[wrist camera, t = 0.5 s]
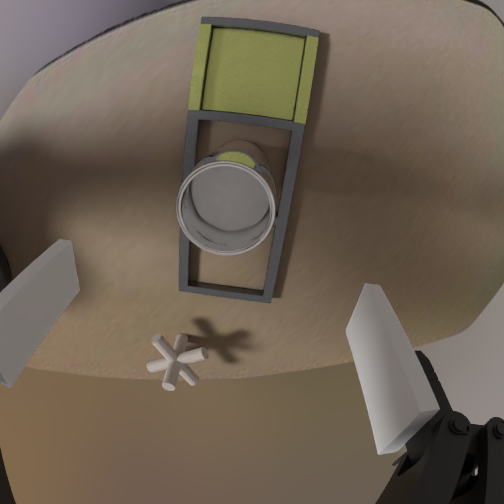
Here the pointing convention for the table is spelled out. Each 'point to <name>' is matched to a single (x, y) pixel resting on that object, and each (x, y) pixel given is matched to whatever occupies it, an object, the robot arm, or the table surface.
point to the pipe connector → (176, 360)
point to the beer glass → (228, 200)
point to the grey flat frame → (250, 111)
